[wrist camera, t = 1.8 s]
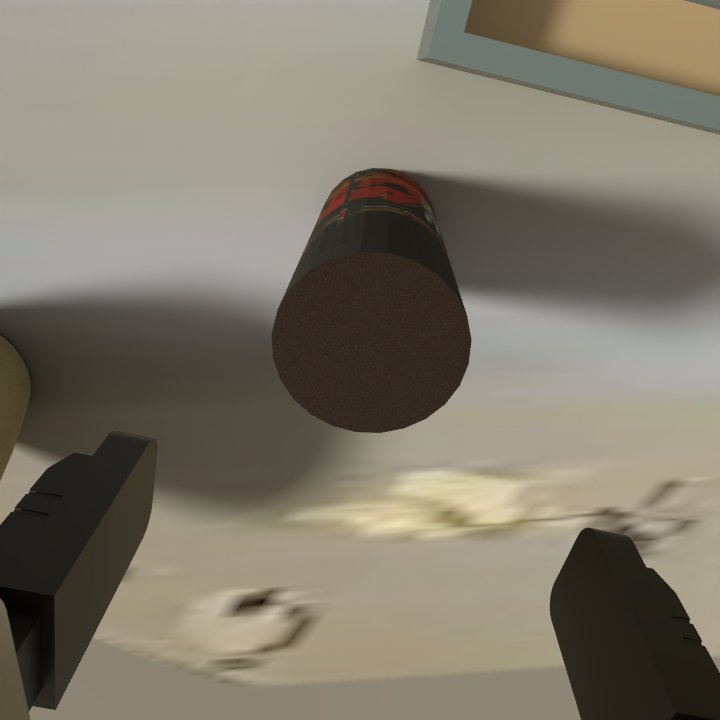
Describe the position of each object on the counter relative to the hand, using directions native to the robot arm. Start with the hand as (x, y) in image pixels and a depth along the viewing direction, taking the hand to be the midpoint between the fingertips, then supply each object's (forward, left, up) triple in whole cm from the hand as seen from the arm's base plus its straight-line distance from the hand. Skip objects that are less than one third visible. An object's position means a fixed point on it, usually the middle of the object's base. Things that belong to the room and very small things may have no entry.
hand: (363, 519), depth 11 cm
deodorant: (0, 0, -23) cm, 23 cm away
